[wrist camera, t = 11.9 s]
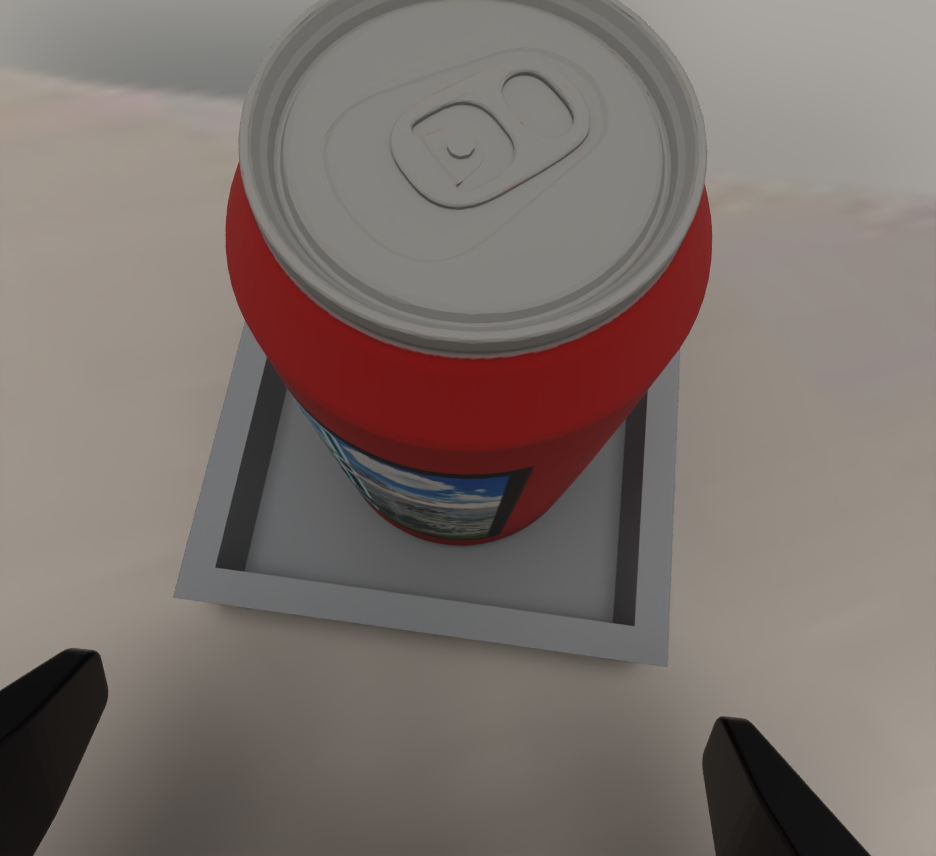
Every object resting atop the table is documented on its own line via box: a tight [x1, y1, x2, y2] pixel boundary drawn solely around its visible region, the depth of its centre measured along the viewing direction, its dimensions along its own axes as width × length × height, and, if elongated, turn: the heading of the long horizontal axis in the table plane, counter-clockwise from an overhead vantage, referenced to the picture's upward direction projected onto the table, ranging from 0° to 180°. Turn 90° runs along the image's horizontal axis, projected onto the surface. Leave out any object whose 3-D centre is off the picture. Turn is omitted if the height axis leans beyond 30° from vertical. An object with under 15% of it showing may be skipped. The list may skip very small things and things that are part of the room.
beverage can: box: [226, 0, 712, 545], centre depth 13 cm, size 7×7×12 cm
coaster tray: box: [173, 321, 680, 667], centre depth 18 cm, size 12×12×3 cm
